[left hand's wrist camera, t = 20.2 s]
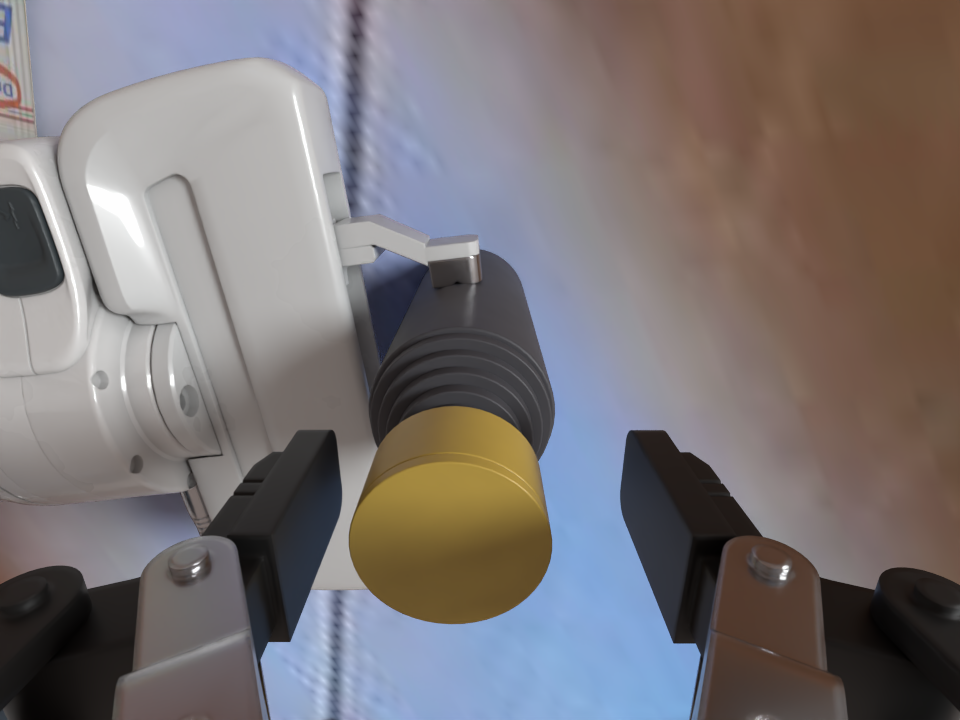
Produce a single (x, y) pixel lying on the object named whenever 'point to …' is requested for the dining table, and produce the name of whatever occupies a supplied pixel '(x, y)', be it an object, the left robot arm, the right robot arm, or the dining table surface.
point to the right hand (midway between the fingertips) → (490, 342)
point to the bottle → (467, 357)
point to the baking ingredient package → (15, 74)
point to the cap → (452, 518)
